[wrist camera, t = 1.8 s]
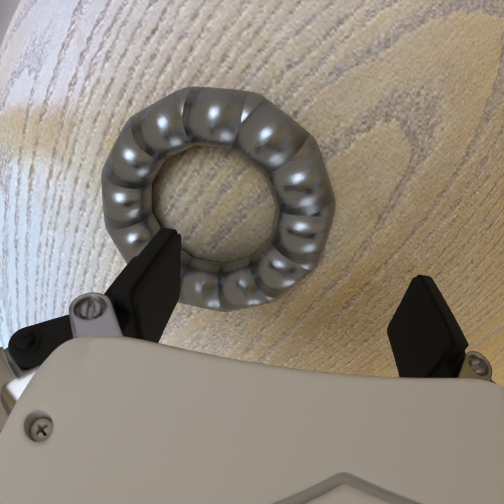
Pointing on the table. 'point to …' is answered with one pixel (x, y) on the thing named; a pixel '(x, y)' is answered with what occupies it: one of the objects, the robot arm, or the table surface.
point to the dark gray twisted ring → (251, 149)
